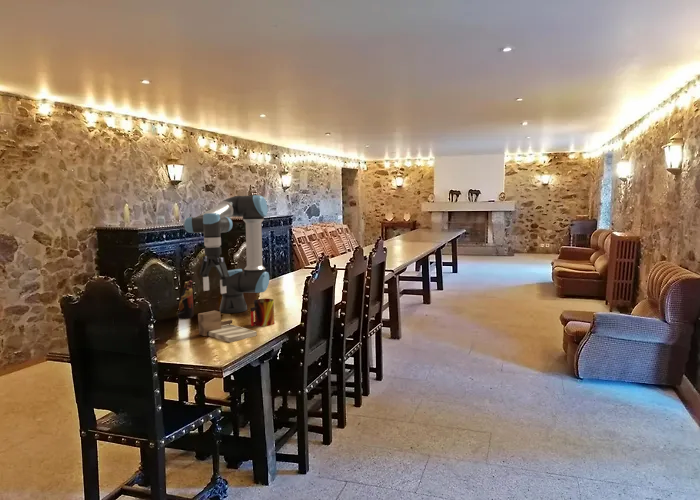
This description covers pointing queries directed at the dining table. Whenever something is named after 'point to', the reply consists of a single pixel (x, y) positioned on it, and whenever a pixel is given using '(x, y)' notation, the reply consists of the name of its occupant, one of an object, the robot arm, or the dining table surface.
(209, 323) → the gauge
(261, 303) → the mug
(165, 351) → the dining table surface
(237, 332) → the board
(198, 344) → the dining table surface
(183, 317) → the statue
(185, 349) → the dining table surface
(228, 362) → the dining table surface
